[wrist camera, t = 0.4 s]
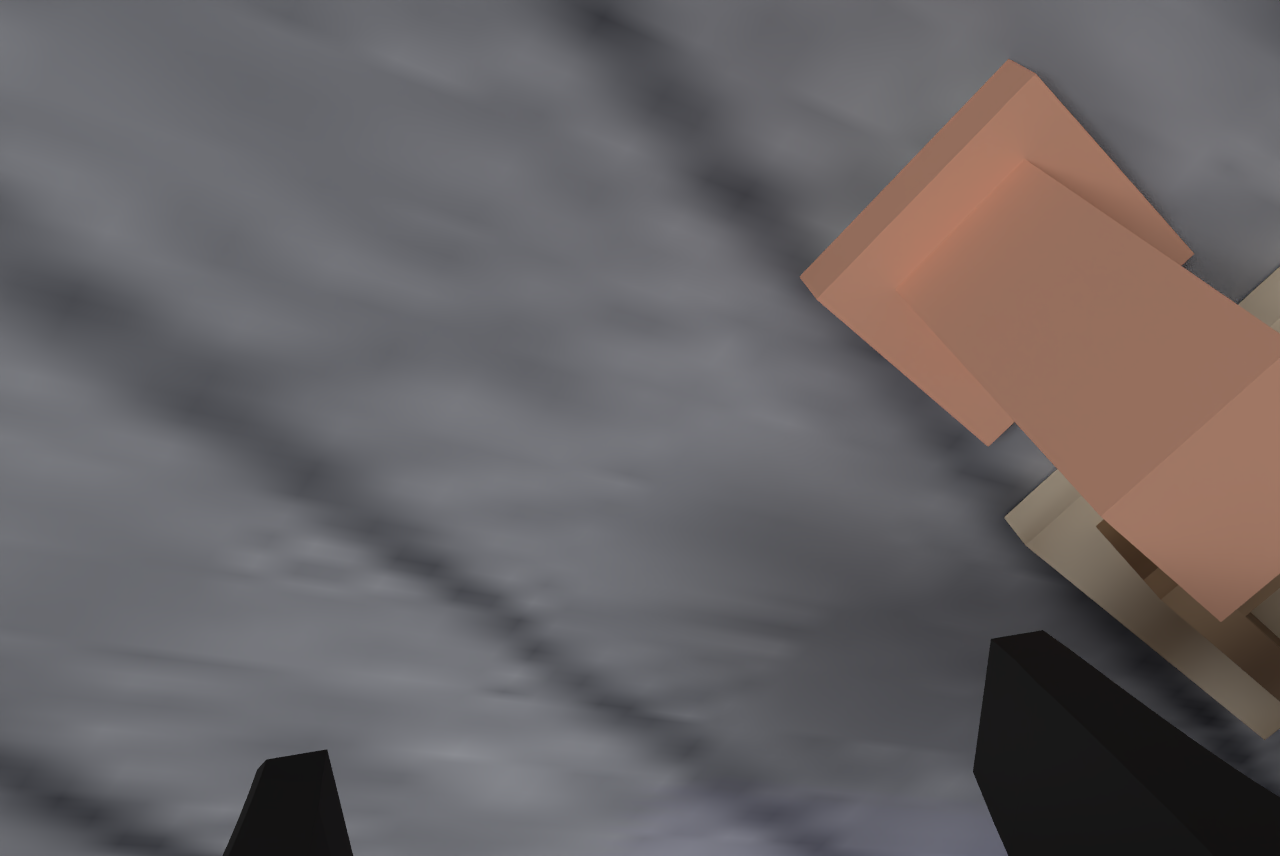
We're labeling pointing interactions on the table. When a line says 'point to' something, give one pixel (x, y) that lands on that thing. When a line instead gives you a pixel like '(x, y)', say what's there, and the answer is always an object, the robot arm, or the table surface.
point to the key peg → (1074, 333)
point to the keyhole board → (1166, 587)
